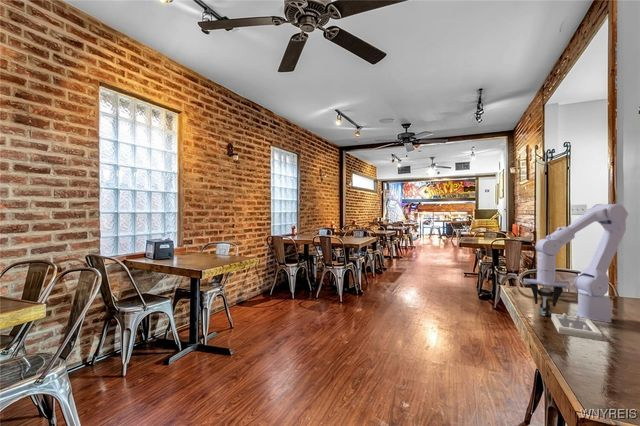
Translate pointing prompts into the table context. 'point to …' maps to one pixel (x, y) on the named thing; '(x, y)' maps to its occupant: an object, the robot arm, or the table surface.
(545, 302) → the push button
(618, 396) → the table surface
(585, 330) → the pin tray
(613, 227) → the robot arm
